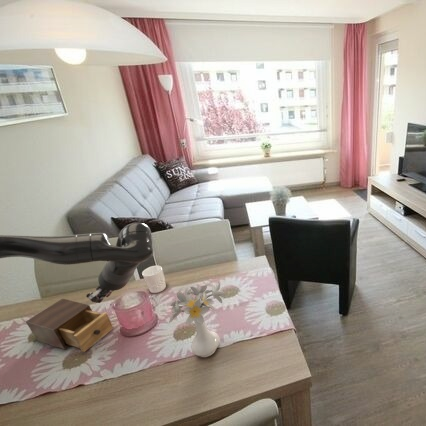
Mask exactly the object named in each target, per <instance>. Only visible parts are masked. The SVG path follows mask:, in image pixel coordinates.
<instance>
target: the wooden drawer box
mask: <svg viewBox="0 0 426 426" xmlns="http://www.w3.org/2000/svg"><path fill="white" fill-rule="evenodd" d="M85 310H90V311H93V310H92V308H91V306H90V304H86V303H82V302H79V301H74V300H70V299H66V298H61V299H60V300H57V301H56V302H55V303H53V304H52V305H49V306H48V307H47V308H45V309H43V310H42V311H40V312H38V313H37V314H36V315H34V316H32V317H31V318H29V319H27V320H26V321H25V323H26V324H27V326H28V328H29V330H30V331H31V333H32V334H33V336H34V338H35V340H36V341H37V342H40V343H43V344H45V345H50V346H52V347H55V348H58V349H61V350H67V349H68V348H69V347H70V346H71V345H68V344H65V343H64V341H63V340H62V338H61V336H60V334H59V333H58V331H57V330H58V329H59V328H61V327H62V326H63V325H65V324H66V323H68V322H69V321H70V320H72V319H73V318H75V317H76V316H78V315H79V314H80V313H82V312H83V311H85Z"/></svg>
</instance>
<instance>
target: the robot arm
mask: <svg viewBox="0 0 426 426" xmlns="http://www.w3.org/2000/svg"><path fill="white" fill-rule="evenodd" d="M152 235H153V234H152V231H151V228H150V227H149V226H148V225H147V224H145V223H142V222H132V223H129V224H127V225H125V226H123V228H122V229H121V230H120V232H119V233H118V237H117V240H116V243H115V245H113V244H111V242H110V238H109V236H108V234H107V233H105V232H93V233H81V234H69V235H55V236H54V235H52V236H51V235H50V236H43V235H42V236H40V235H36V236H35V235H11V234H10V235H9V234H6V235H5V234H0V259H5V258H29V259H33V260H37V261H42V262H46V263H50V264H54V265H55V264H56V265H65V266H66V265H78V264H87V263H93V262H95V263H96V262H105V264H104V267H103V268H102V270H101V271H100V273H99V275H98V286H97V287H96V288H95V291H94V292H93V291H92V292H89V293H87V294H86V295H85V297H86V298H87V299H88V300H90V301H91V302H92V303H96V304H97V303H98V304H101V303H102V302H103V300H104V299H105V298H109V297H110V296H111V295H112V293H113V292H115V291H119V290H121V289H123V288H124V287H126V285H127V284H128V283H129V281H130V280H131V278H132V277H133V275H134V274H135V272H136V269H137V268H138V267H139V265H140V264H141V263H144V262H146V261H148V260H149V259H151V257H153V255H154V245H153V236H152Z"/></svg>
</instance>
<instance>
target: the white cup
mask: <svg viewBox="0 0 426 426" xmlns="http://www.w3.org/2000/svg"><path fill="white" fill-rule="evenodd" d="M141 274H142V277H143V279H144V282H145V284H146V286H147V288H148V291H149V292H150V293H151V294H158V293H161V292H162V291H164V290H166V288H167V284H166V278H165V274H164V270H163V267H162V266H161V265H151V266H149V267H147V268H145V269H144V270H142V272H141Z"/></svg>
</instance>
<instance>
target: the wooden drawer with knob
mask: <svg viewBox="0 0 426 426" xmlns="http://www.w3.org/2000/svg"><path fill="white" fill-rule="evenodd" d="M113 329H114V325H113V324H112V322H111V319H110V317H109V315H108V312H105V311H104V312H102V313H101V312H98V311H94V310H92V311H90V310H85V311H83V312H82V313H80V314H79V315H78V316H76V317H75V318H73V319H72V320H70V321H69V322H68V323H66V324H65V325H63V326H62V327H61V328H59V329H58V330H57V331H58V333H59V334H60V336H61V338H62V340H63V341H64V343H65V344H68V345H70V346H72V347H74V348H78V349H79V350H81V353H82V352H83V353H85V352H87V351H88V350H89V349H90V348H91V347H92V346H94V345H95V344H96V343H97V342H98V341H99V340H101V339H103V337H105V336H106V335H107V334H108V333H109V332H111V331H112V330H113Z"/></svg>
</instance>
